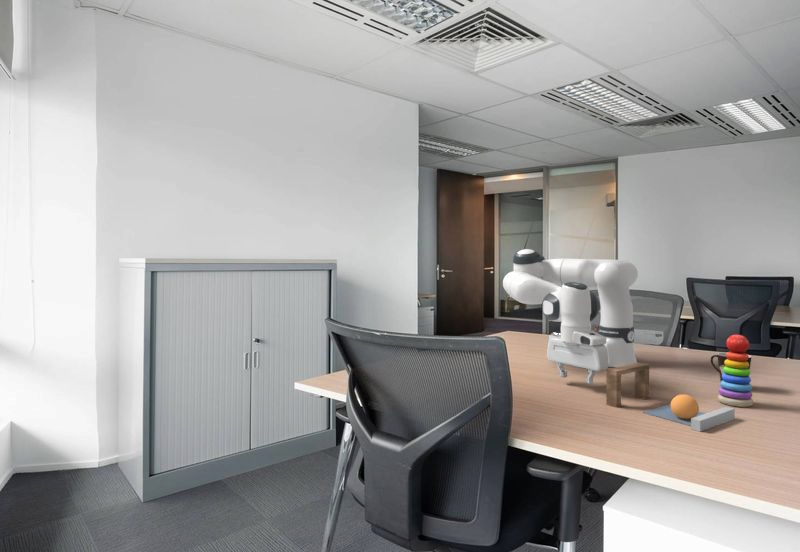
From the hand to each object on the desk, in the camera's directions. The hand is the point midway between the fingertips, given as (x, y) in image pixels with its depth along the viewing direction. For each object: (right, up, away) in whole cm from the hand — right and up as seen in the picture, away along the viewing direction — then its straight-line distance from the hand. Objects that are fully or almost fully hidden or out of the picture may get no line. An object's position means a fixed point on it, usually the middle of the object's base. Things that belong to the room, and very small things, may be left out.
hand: (575, 380), depth 149 cm
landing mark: (+16, -3, -27) cm, 32 cm away
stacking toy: (+37, -3, -18) cm, 41 cm away
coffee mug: (+47, -2, -1) cm, 48 cm away
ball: (+16, 0, -30) cm, 34 cm away
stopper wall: (+21, -3, -34) cm, 40 cm away
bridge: (+9, -3, -15) cm, 18 cm away
